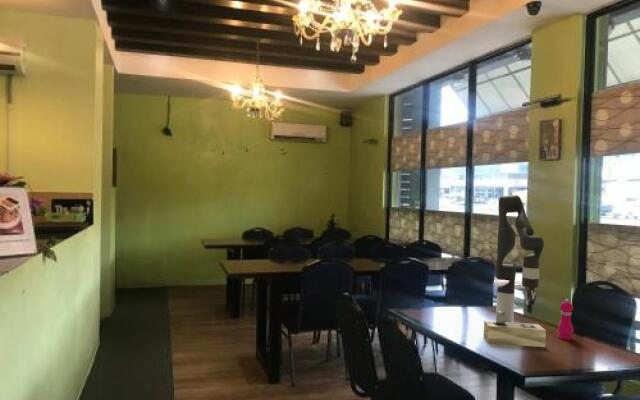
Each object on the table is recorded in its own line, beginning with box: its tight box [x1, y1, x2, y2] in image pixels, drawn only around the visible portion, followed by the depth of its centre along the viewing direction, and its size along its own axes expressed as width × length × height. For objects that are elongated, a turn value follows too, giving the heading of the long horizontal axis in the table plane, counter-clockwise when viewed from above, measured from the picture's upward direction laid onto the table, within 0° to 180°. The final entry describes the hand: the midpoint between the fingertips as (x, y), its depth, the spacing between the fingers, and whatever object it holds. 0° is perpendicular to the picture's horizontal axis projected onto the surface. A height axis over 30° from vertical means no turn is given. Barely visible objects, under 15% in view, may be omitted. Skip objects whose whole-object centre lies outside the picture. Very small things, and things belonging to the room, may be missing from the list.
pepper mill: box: [557, 298, 574, 341], centre depth 259 cm, size 7×7×20 cm
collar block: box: [483, 320, 547, 348], centre depth 248 cm, size 12×26×8 cm, turn 83°
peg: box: [495, 311, 505, 325], centre depth 249 cm, size 4×4×8 cm
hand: (529, 312), depth 247 cm, fingers closed
